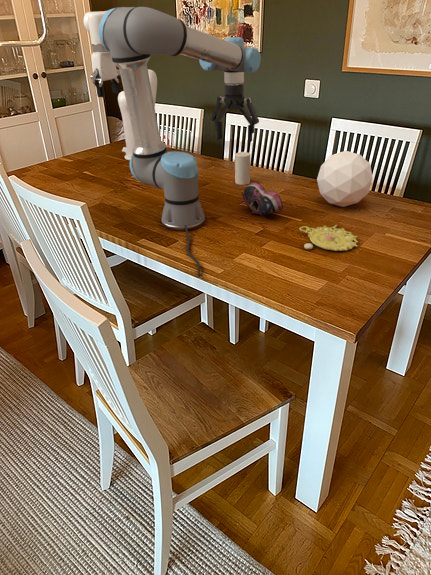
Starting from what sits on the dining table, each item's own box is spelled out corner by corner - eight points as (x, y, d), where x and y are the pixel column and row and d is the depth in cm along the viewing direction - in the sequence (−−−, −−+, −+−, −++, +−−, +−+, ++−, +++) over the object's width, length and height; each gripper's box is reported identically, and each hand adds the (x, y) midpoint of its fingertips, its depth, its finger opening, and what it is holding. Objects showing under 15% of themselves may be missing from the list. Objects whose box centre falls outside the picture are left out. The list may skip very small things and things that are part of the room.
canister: (238, 179, 193) (238, 151, 186) (252, 180, 191) (252, 152, 184) (232, 183, 188) (232, 155, 182) (246, 185, 186) (247, 156, 179)
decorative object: (343, 255, 128) (285, 234, 139) (342, 262, 130) (284, 241, 140) (372, 230, 142) (317, 213, 152) (371, 237, 143) (316, 219, 153)
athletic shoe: (254, 181, 170) (227, 189, 167) (283, 176, 151) (253, 185, 147) (260, 210, 173) (234, 218, 170) (290, 209, 154) (261, 219, 150)
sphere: (348, 225, 166) (362, 196, 147) (303, 198, 170) (311, 167, 152) (373, 189, 171) (391, 157, 152) (328, 164, 175) (340, 130, 156)
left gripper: (108, 47, 183) (114, 91, 193) (79, 50, 171) (87, 98, 180) (123, 47, 180) (128, 92, 190) (94, 50, 168) (102, 99, 177)
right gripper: (268, 83, 167) (266, 140, 179) (209, 81, 177) (211, 135, 188) (260, 86, 161) (259, 145, 173) (200, 84, 171) (203, 139, 183)
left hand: (108, 95), depth 185 cm, fingers open, 9 cm apart
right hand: (234, 140), depth 181 cm, fingers open, 13 cm apart
